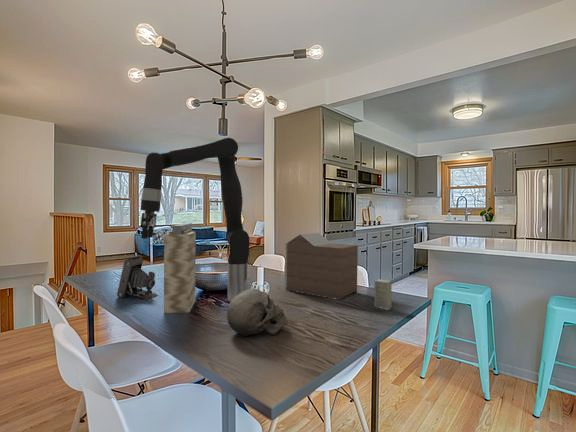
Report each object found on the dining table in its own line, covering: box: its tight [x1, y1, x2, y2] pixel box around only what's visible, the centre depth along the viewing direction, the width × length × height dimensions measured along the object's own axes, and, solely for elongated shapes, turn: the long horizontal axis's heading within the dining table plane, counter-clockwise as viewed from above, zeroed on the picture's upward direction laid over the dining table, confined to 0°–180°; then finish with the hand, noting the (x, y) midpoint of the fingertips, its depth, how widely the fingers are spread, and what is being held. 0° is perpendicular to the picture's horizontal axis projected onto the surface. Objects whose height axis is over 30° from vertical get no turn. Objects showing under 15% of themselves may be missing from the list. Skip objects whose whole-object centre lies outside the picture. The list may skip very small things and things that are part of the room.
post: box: [163, 228, 197, 314], centre depth 137 cm, size 10×16×33 cm, turn 8°
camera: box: [116, 254, 159, 301], centre depth 153 cm, size 11×17×20 cm, turn 79°
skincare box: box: [373, 278, 393, 309], centre depth 139 cm, size 6×4×12 cm
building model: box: [284, 232, 359, 300], centre depth 168 cm, size 19×34×30 cm, turn 54°
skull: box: [226, 287, 288, 337], centre depth 109 cm, size 13×16×20 cm
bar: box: [172, 222, 193, 234], centre depth 141 cm, size 4×26×4 cm, turn 8°
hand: (147, 237), depth 135 cm, fingers open, 8 cm apart
